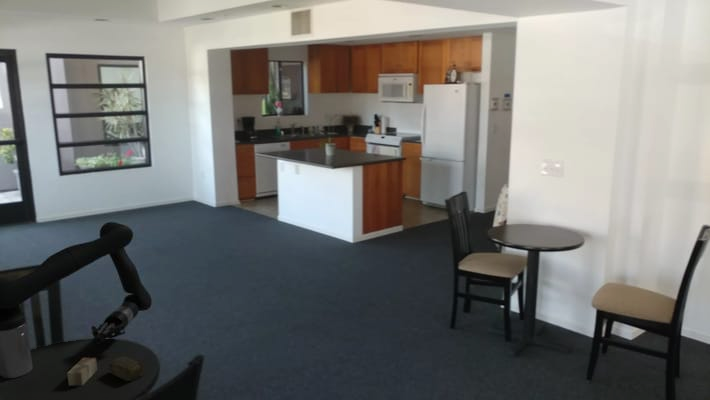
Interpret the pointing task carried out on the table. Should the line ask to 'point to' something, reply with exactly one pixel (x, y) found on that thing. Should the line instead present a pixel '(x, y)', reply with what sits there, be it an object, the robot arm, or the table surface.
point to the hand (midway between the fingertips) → (96, 341)
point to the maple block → (82, 371)
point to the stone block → (126, 368)
